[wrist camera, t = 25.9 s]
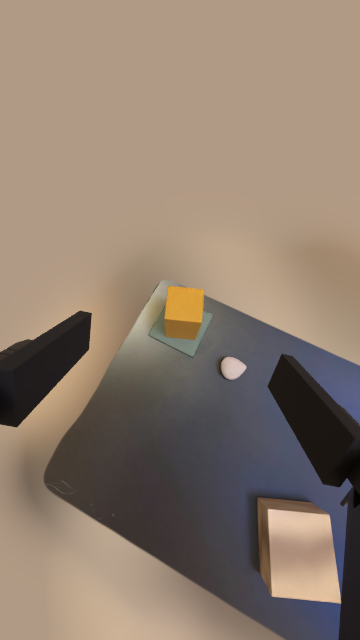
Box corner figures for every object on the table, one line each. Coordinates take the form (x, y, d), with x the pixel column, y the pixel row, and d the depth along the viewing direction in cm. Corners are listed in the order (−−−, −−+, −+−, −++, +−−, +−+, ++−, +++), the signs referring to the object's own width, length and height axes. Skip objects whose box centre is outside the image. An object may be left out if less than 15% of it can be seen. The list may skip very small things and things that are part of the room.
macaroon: (217, 358, 42) (220, 356, 39) (242, 356, 42) (246, 354, 40) (221, 381, 40) (224, 379, 38) (246, 378, 41) (251, 377, 38)
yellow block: (195, 340, 42) (202, 322, 33) (165, 337, 42) (164, 318, 33) (197, 313, 44) (204, 289, 35) (168, 310, 44) (168, 285, 35)
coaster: (192, 357, 42) (193, 357, 41) (148, 335, 43) (148, 334, 42) (212, 316, 45) (213, 315, 44) (171, 297, 46) (171, 295, 46)
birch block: (320, 578, 31) (341, 603, 27) (259, 573, 31) (271, 596, 27) (312, 502, 34) (329, 514, 30) (257, 497, 34) (267, 508, 30)
